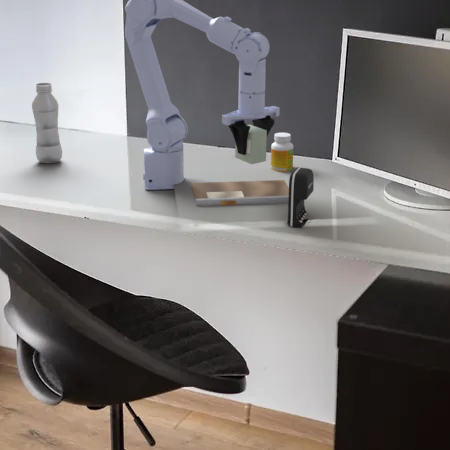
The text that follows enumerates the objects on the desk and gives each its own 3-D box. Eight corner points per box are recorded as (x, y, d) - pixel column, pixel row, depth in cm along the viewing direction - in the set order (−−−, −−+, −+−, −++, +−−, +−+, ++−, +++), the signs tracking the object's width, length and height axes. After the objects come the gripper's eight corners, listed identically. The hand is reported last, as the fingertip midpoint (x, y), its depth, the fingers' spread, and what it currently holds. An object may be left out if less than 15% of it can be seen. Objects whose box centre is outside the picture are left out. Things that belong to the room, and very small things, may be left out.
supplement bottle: (290, 177, 200) (292, 138, 196) (268, 175, 201) (269, 136, 197) (293, 170, 205) (295, 132, 201) (272, 168, 206) (273, 130, 202)
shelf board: (196, 211, 178) (196, 200, 177) (190, 187, 192) (190, 178, 191) (296, 207, 180) (297, 197, 179) (284, 184, 194) (284, 175, 193)
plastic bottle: (68, 161, 210) (63, 83, 203) (49, 168, 205) (43, 88, 198) (49, 157, 214) (43, 80, 206) (30, 163, 208) (24, 85, 201)
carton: (251, 164, 181) (251, 133, 178) (234, 157, 185) (235, 127, 182) (266, 161, 183) (267, 130, 180) (249, 154, 187) (250, 124, 185)
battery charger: (304, 229, 168) (307, 176, 164) (286, 227, 170) (288, 174, 165) (313, 218, 175) (315, 166, 170) (295, 215, 176) (298, 164, 171)
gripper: (236, 99, 171) (235, 161, 176) (289, 90, 179) (287, 150, 184) (216, 92, 177) (215, 153, 182) (268, 84, 185) (267, 143, 190)
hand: (250, 151), depth 183 cm, fingers closed on carton, 4 cm apart
